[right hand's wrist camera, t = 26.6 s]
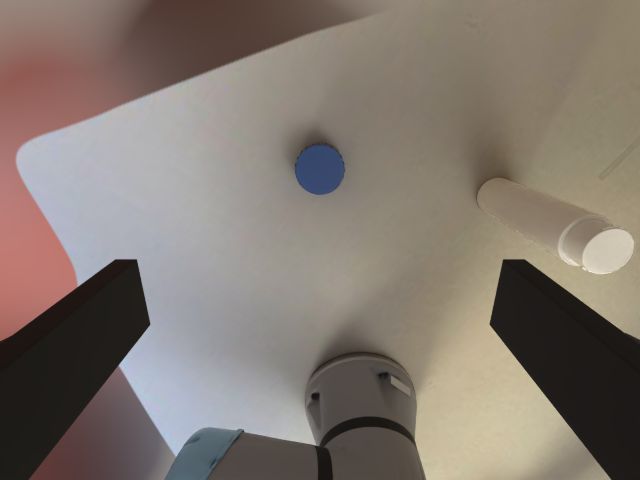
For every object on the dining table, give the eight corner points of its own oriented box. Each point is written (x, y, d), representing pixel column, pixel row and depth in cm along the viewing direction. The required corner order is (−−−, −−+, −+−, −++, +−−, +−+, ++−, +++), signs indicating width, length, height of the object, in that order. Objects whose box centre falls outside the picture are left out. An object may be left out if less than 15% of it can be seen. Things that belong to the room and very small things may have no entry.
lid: (286, 159, 37) (284, 163, 35) (327, 132, 36) (327, 134, 34) (313, 199, 38) (312, 204, 36) (352, 173, 37) (354, 177, 35)
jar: (516, 206, 39) (641, 268, 24) (480, 218, 39) (579, 286, 24) (511, 172, 37) (640, 215, 22) (473, 184, 38) (574, 235, 23)
